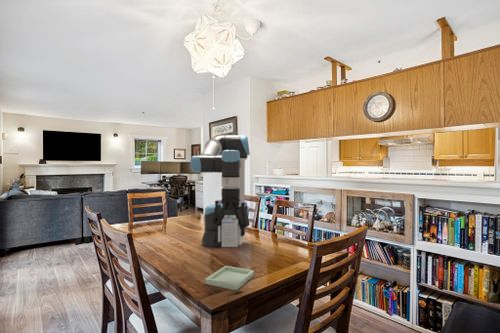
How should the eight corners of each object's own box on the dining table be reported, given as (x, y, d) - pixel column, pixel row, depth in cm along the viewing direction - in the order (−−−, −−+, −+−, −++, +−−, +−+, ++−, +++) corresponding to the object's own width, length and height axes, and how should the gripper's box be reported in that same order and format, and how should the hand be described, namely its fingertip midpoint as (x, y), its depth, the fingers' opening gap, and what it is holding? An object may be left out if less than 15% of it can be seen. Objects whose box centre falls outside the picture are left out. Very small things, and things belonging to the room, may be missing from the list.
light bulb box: (223, 239, 119) (223, 215, 119) (239, 239, 119) (239, 214, 119) (221, 247, 108) (221, 219, 108) (238, 247, 108) (238, 219, 108)
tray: (205, 283, 109) (205, 278, 109) (225, 269, 124) (225, 265, 124) (236, 290, 103) (236, 285, 103) (254, 275, 118) (254, 270, 118)
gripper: (203, 187, 115) (203, 241, 115) (250, 189, 105) (250, 248, 105) (213, 186, 121) (213, 237, 121) (258, 188, 112) (258, 243, 112)
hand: (230, 242), depth 113 cm, fingers closed on light bulb box, 9 cm apart
